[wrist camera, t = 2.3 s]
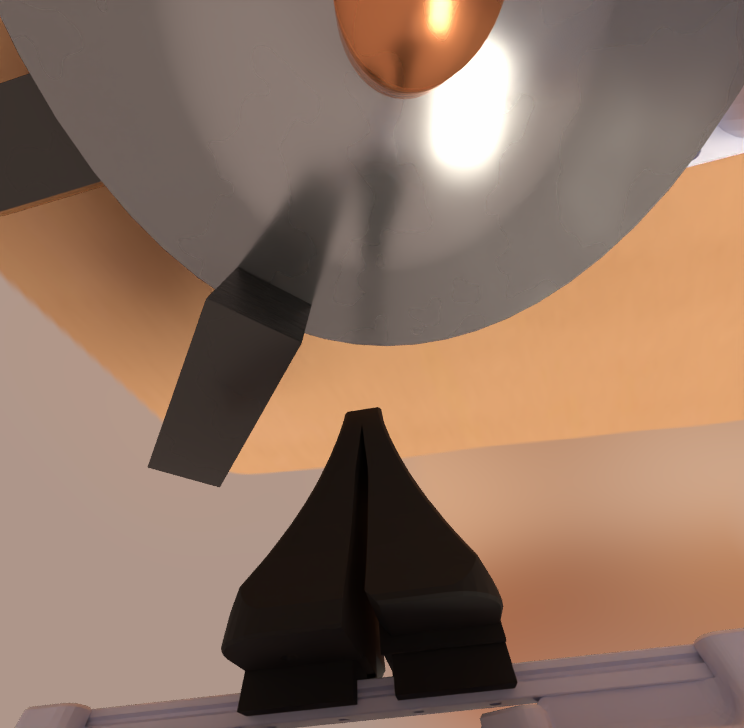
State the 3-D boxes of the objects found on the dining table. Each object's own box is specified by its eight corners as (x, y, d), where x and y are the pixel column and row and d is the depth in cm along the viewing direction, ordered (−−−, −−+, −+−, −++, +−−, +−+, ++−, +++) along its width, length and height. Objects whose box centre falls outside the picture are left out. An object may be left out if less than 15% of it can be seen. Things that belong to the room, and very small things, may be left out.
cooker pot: (688, -578, 6) (1312, -1927, 2) (577, 235, 15) (660, 267, 11) (-193, -174, 8) (-726, -486, 4) (166, 336, 17) (107, 394, 13)
